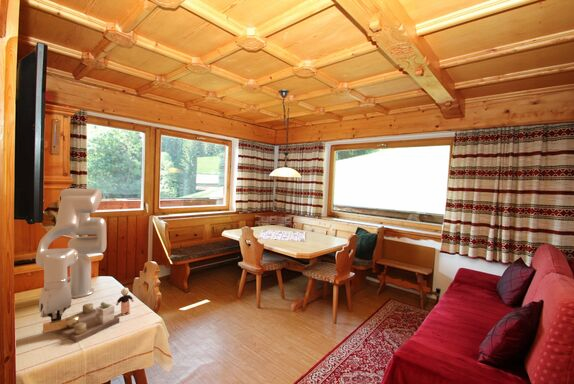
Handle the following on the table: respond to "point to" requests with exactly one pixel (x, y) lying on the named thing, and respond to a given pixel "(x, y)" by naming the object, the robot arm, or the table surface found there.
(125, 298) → the grandmother figurine
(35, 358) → the table surface
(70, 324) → the orange lever bar
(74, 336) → the base
